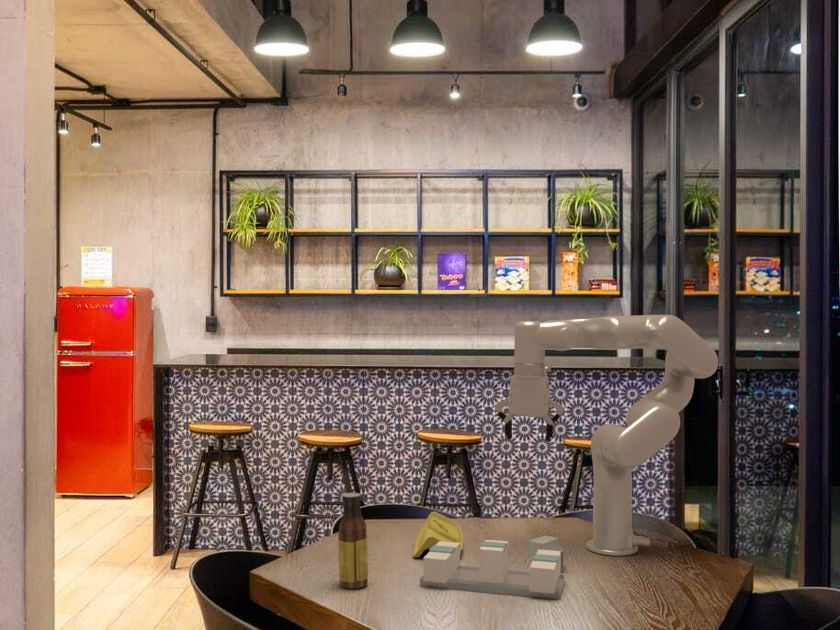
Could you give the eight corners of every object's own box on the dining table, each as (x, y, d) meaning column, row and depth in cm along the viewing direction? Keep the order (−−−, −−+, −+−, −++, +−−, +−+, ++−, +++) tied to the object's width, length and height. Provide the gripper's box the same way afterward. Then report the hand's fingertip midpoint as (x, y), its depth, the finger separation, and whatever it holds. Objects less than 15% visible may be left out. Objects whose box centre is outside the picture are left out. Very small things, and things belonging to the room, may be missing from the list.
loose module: (508, 572, 186) (508, 540, 186) (502, 583, 178) (502, 549, 178) (485, 570, 187) (486, 538, 187) (478, 581, 180) (479, 547, 180)
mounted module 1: (460, 564, 192) (460, 541, 192) (446, 583, 178) (446, 558, 178) (438, 562, 193) (438, 539, 193) (423, 581, 180) (423, 556, 180)
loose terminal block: (558, 554, 207) (558, 538, 207) (542, 560, 202) (542, 543, 202) (544, 551, 210) (545, 535, 210) (529, 557, 205) (529, 540, 205)
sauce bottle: (366, 580, 184) (367, 490, 185) (369, 589, 178) (370, 496, 178) (336, 581, 183) (337, 491, 183) (338, 591, 177) (339, 497, 177)
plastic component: (462, 551, 200) (425, 533, 200) (449, 578, 201) (411, 559, 201) (462, 525, 220) (428, 508, 220) (449, 549, 220) (416, 532, 220)
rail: (564, 582, 185) (564, 575, 185) (559, 599, 173) (559, 592, 173) (433, 570, 193) (433, 563, 193) (420, 586, 181) (420, 579, 181)
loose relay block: (560, 565, 197) (561, 544, 197) (563, 573, 191) (563, 551, 191) (539, 565, 198) (539, 544, 198) (541, 572, 192) (541, 551, 192)
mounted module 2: (560, 573, 186) (561, 549, 186) (554, 593, 172) (554, 567, 172) (538, 571, 187) (538, 547, 187) (529, 591, 174) (529, 565, 174)
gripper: (566, 370, 208) (565, 439, 208) (497, 368, 213) (497, 435, 213) (563, 372, 201) (562, 443, 201) (492, 370, 206) (491, 440, 206)
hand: (528, 439), depth 207 cm, fingers open, 9 cm apart
